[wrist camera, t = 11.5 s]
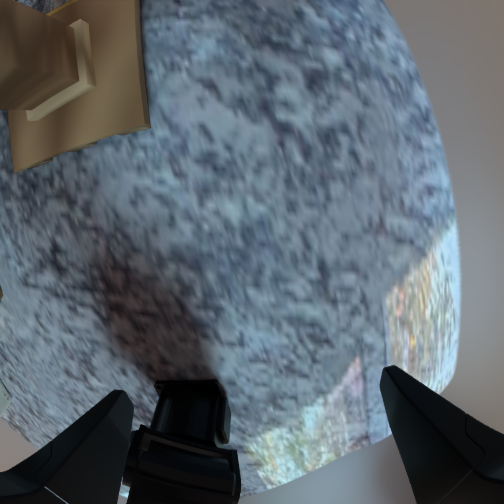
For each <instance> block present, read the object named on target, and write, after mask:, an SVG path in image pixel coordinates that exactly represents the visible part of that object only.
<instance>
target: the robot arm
mask: <svg viewBox="0 0 504 504" xmlns="http://www.w3.org/2000/svg"><path fill="white" fill-rule="evenodd" d="M154 388H155V390H156V392H157V394H158V395H159V399H158V402H157V406H156V409H155V412H154V415H153V418H152V421H151V425H150V428H148V427H147V426H145V425H142V424H141V425H140V427H139V430H136V431H132V432H131V429H132V421H133V413H134V406H133V404H132V402H131V400H130V398H129V397H128V395H127V393H126V392H125V391H124V390H113V391H112V392H110V393H109V394H108V395H107V396H106V397H104V398H103V399H102V400H101V401H100V402H98V403H97V404H96V405H95V406H93V407H92V408H91V409H90V410H89V411H87V412H86V413H85V414H84V415H82V416H81V417H80V418H79V419H78V420H76V421H75V422H74V423H73V424H71V425H70V426H69V427H68V428H66V429H65V430H64V431H63V432H61V433H60V434H59V435H58V436H57V437H55V438H54V439H53V440H52V441H50V442H49V443H48V444H46V445H45V446H44V447H43V448H41V449H40V450H39V451H37V452H36V453H34V454H33V455H31V456H30V457H28V458H27V459H25V460H24V461H22V462H20V463H19V464H17V465H16V466H14V467H12V468H11V469H9V470H7V471H4V472H0V504H117V500H118V496H119V491H120V486H121V481H122V477H123V481H122V485H125V486H128V487H130V491H129V495H128V500H127V503H126V504H238V501H239V498H240V493H241V476H240V469H239V462H238V455H237V450H234V449H230V450H229V449H224V448H223V444H227V443H228V442H229V437H230V422H231V410H230V407H229V404H228V401H227V398H226V397H223V395H222V392H221V388H220V385H219V383H218V382H217V381H216V380H200V381H156V382H155V385H154ZM380 391H381V395H382V398H383V402H384V406H385V410H386V414H387V418H388V422H389V426H390V428H391V431H392V434H393V436H394V439H395V442H396V445H397V447H398V450H399V453H400V455H401V458H402V461H403V464H404V466H405V470H406V472H407V475H408V478H409V481H410V484H411V487H412V490H413V493H414V496H415V499H416V503H417V504H504V434H502V433H500V432H498V431H496V430H494V429H492V428H490V427H488V426H486V425H485V424H483V423H481V422H480V421H478V420H476V419H475V418H473V417H472V416H470V415H469V414H466V413H465V412H464V411H463V410H461V409H460V408H458V407H457V406H455V405H453V404H452V403H451V402H449V401H448V400H446V399H445V398H443V397H442V396H440V395H439V394H437V393H436V392H434V391H433V390H431V389H430V388H428V387H427V386H425V385H424V384H422V383H421V382H419V381H418V380H416V379H415V378H413V377H412V376H411V375H409V374H408V373H406V372H405V371H403V370H402V369H400V368H399V367H397V366H395V365H391V366H388V367H384V368H383V371H382V375H381V380H380Z"/></svg>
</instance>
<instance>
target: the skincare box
mask: <svg viewBox="0 0 504 504" xmlns="http://www.w3.org/2000/svg"><path fill="white" fill-rule="evenodd" d="M11 401H12V398H11V396H10V395H9V393H8V392H7V390H6V389H5V387H4V385H3V383H2V382H1V380H0V417H1V416H2V414H3V413H4V411H5V410H6V408H7V407H8V405H9V404H10V402H11Z"/></svg>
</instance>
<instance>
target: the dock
mask: <svg viewBox="0 0 504 504" xmlns="http://www.w3.org/2000/svg"><path fill="white" fill-rule="evenodd" d="M46 15H48V16H50V17H53V18H55V19H57V20H59V21H61V22H63V23H65V24H67V25H70V24H72V23H74V22H76V21H77V20H79V19H82V20H83V21H85V22H87V23H88V24H89V33H90V43H91V51H92V59H93V66H94V73H95V80H96V86H97V87H96V88H94V89H92V90H90V91H88V92H86V93H84V94H82V95H81V96H79V97H77V98H75V99H73V100H71V101H70V102H68V103H66V104H64V105H63V106H61V107H59V108H58V109H56V110H54V111H53V112H51V113H49V114H48V115H46V116H45V117H43V118H41V119H40V120H38V121H28V120H27V113H26V110H8V121H9V135H10V145H11V153H12V161H13V168H14V173H15V172H20V171H23V170H25V169H29V168H34V167H38V166H40V165H42V164H45V163H47V162H49V161H52V160H53V158H52V157H55V156H57V155H60V154H62V153H65V152H74V151H78V150H81V149H83V148H86V147H89V146H92V145H95V144H96V141H98V140H101V139H104V138H107V137H110V136H113V135H127V134H130V133H134V132H138V131H141V130H145V129H149V128H151V124H150V117H149V110H148V102H147V94H146V85H145V76H144V65H143V54H142V41H141V26H140V3H139V0H71V1H69V2H67V3H65V4H63V5H61V6H60V7H58V8H56V9H54V10H53V11H51V12H49V13H48V14H46Z"/></svg>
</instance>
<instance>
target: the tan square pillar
mask: <svg viewBox="0 0 504 504" xmlns="http://www.w3.org/2000/svg"><path fill="white" fill-rule="evenodd" d="M96 87H97V86H96V80H95V73H94V66H93V59H92V51H91V43H90V33H89V24H88V23H87V22H85V21H83V20H82V19H79V20H77V21H76V22H74V23H72V24H70V25H67V24H65V23H63V22H61V21H59V20H57V19H55V18H53V17H50V16H48V15H46V14H44V13H42V12H40V11H38V10H35V9H33V8H31V7H29V6H26V5H24V4H22V3H19V2H17V1H15V0H0V110H26V113H27V120H28V121H38V120H40V119H41V118H43V117H45V116H46V115H48V114H49V113H51V112H53V111H54V110H56V109H58V108H59V107H61V106H63V105H64V104H66V103H68V102H70V101H71V100H73V99H75V98H77V97H79V96H81V95H82V94H84V93H86V92H88V91H90V90H92V89H94V88H96Z"/></svg>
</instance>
